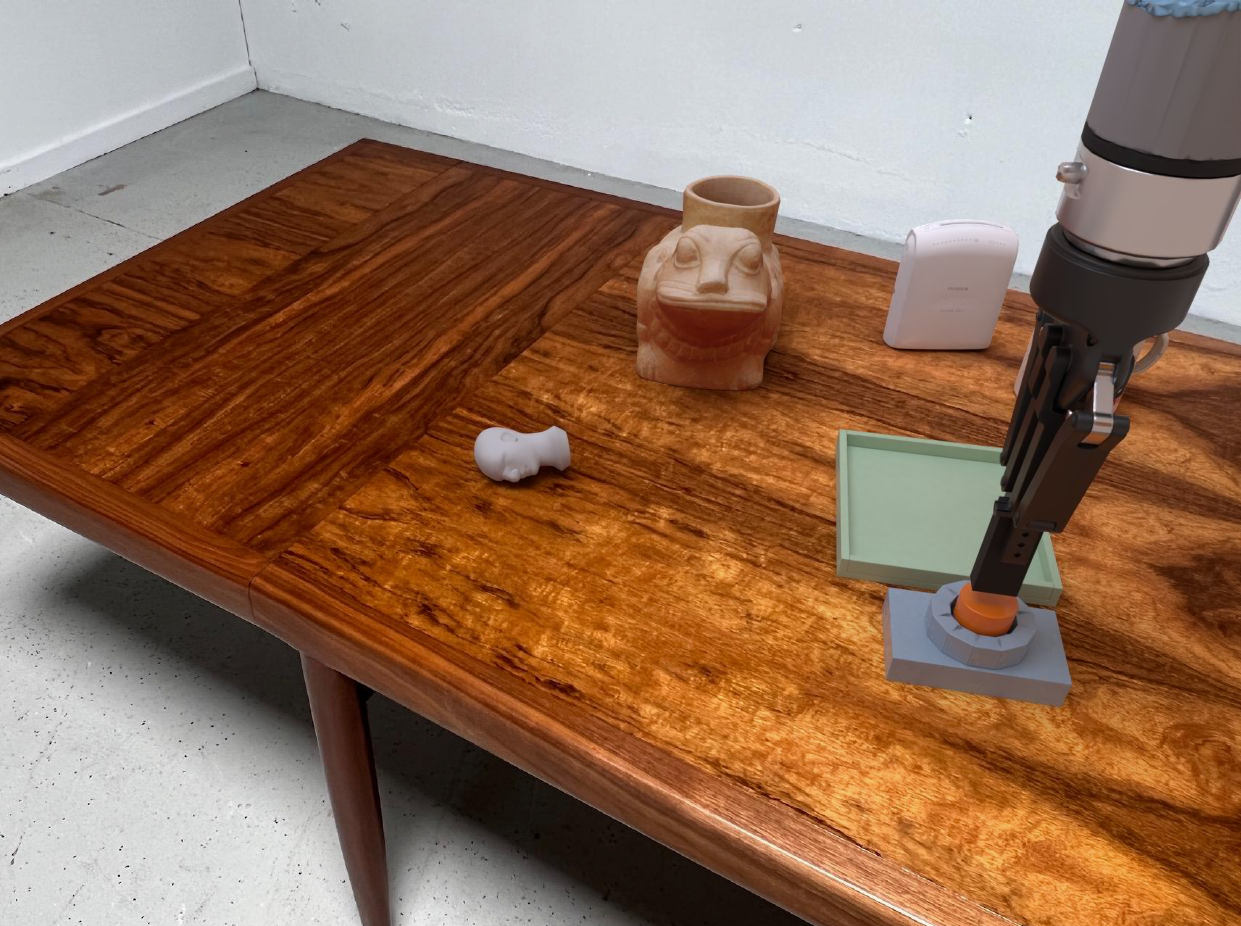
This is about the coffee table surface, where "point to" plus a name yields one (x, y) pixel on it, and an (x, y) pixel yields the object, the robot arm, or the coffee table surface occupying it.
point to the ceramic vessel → (713, 289)
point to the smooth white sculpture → (520, 452)
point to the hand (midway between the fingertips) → (993, 586)
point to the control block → (973, 649)
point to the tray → (923, 513)
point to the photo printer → (951, 285)
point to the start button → (985, 611)
